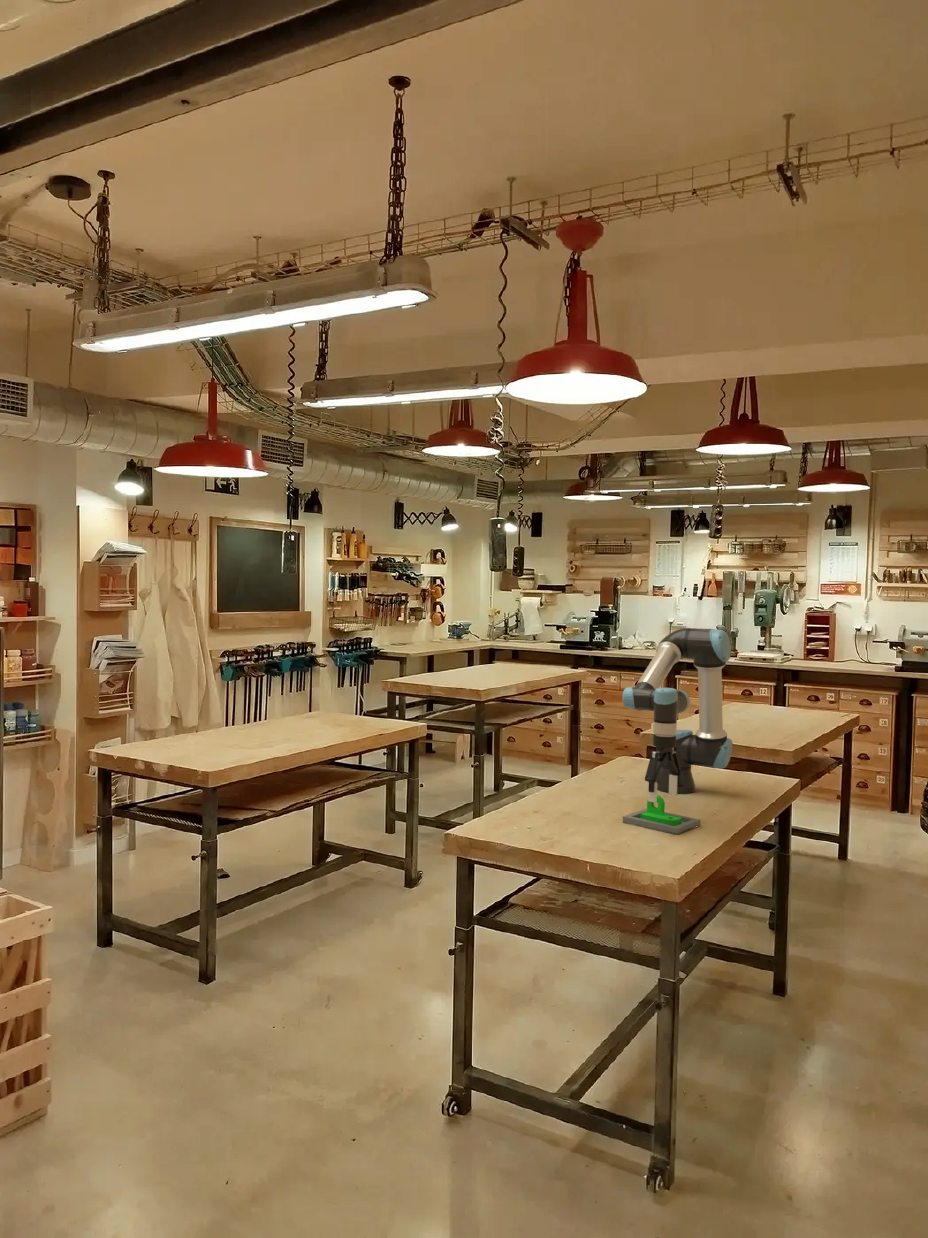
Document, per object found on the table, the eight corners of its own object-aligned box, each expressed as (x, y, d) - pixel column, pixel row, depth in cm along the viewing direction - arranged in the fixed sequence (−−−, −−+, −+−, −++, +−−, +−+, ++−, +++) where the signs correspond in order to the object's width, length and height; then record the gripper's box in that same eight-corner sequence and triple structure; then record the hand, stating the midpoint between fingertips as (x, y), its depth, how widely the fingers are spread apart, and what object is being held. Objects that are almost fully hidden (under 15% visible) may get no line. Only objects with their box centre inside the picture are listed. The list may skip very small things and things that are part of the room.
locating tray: (647, 814, 304) (647, 808, 304) (700, 825, 291) (700, 819, 291) (622, 822, 292) (622, 816, 292) (676, 835, 279) (677, 828, 279)
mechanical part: (640, 820, 294) (641, 796, 294) (649, 816, 298) (650, 793, 298) (672, 827, 286) (673, 803, 286) (681, 824, 290) (682, 800, 290)
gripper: (672, 728, 302) (671, 789, 303) (635, 738, 284) (633, 802, 285) (692, 731, 297) (690, 793, 298) (655, 741, 279) (653, 807, 280)
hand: (662, 798), depth 292 cm, fingers open, 13 cm apart
